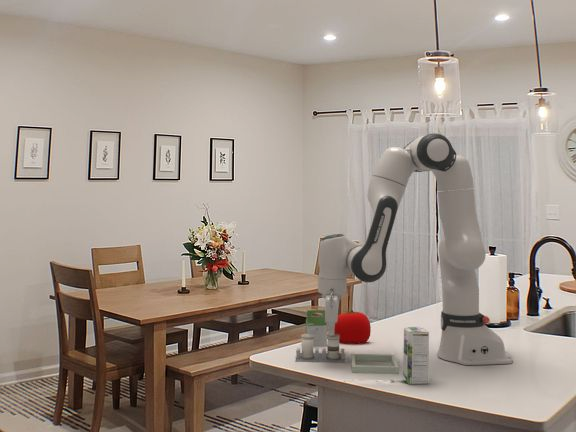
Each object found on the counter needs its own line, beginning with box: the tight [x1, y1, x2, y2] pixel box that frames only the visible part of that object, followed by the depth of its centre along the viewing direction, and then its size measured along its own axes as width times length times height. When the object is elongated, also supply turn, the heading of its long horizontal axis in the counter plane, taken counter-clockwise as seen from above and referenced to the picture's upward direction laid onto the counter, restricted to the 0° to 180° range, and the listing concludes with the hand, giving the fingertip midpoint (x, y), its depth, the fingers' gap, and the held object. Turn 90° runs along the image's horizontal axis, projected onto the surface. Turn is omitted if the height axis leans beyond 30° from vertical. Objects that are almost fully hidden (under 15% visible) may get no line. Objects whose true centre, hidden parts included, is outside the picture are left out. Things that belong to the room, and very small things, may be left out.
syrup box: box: [402, 326, 430, 385], centre depth 157 cm, size 6×6×14 cm
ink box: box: [305, 309, 328, 348], centre depth 192 cm, size 7×4×13 cm, turn 92°
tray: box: [350, 353, 399, 375], centre depth 168 cm, size 13×13×3 cm
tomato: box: [334, 309, 372, 345], centre depth 198 cm, size 12×14×11 cm
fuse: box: [326, 334, 341, 360], centre depth 177 cm, size 4×4×7 cm
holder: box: [294, 332, 346, 364], centre depth 177 cm, size 15×10×8 cm, turn 84°
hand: (331, 331), depth 176 cm, fingers open, 8 cm apart
